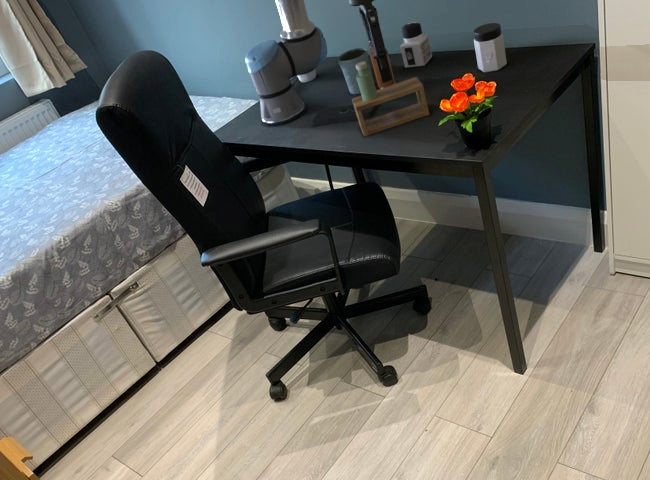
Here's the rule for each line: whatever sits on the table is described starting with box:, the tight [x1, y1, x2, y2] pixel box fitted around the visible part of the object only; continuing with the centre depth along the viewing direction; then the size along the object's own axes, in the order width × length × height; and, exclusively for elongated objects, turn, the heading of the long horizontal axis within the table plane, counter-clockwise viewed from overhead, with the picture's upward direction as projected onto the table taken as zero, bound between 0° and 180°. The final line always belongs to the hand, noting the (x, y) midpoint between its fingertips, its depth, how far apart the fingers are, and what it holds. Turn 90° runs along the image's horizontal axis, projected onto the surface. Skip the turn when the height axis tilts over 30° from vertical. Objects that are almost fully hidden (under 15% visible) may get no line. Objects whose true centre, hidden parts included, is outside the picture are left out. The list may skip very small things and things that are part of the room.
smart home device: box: [311, 104, 378, 126], centre depth 199 cm, size 8×2×20 cm
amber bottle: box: [368, 39, 396, 89], centre depth 162 cm, size 5×5×12 cm
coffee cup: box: [297, 68, 317, 83], centre depth 234 cm, size 11×11×12 cm
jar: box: [473, 22, 508, 73], centre depth 194 cm, size 9×8×12 cm
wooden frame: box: [351, 76, 430, 138], centre depth 184 cm, size 8×20×9 cm, turn 100°
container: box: [399, 21, 433, 68], centre depth 215 cm, size 8×8×13 cm
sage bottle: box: [356, 62, 377, 101], centre depth 178 cm, size 4×4×10 cm
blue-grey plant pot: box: [337, 47, 373, 95], centre depth 210 cm, size 10×10×12 cm
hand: (385, 77), depth 165 cm, fingers closed on amber bottle, 5 cm apart
